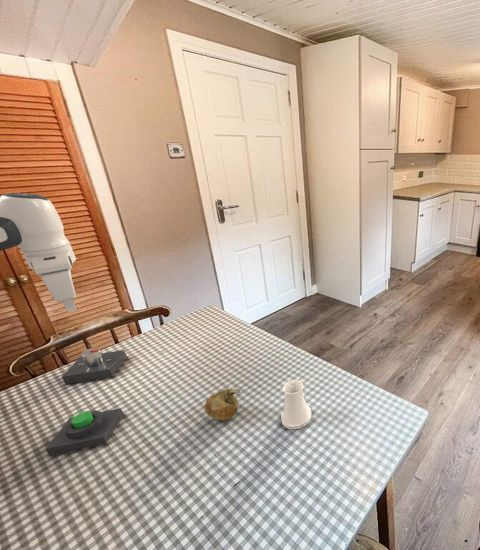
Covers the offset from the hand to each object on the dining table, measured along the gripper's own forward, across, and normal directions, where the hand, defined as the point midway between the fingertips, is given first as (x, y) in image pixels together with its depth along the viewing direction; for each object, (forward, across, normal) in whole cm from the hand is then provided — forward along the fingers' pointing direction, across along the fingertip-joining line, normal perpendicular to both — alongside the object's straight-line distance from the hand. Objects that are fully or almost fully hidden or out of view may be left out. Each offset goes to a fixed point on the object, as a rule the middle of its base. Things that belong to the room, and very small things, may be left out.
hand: (71, 305), depth 83 cm
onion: (+25, +42, +21) cm, 53 cm away
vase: (+25, +56, +34) cm, 70 cm away
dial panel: (+25, -4, 0) cm, 25 cm away
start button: (+21, +24, -5) cm, 32 cm away
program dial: (+22, -4, 0) cm, 22 cm away
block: (+25, +24, -5) cm, 35 cm away
